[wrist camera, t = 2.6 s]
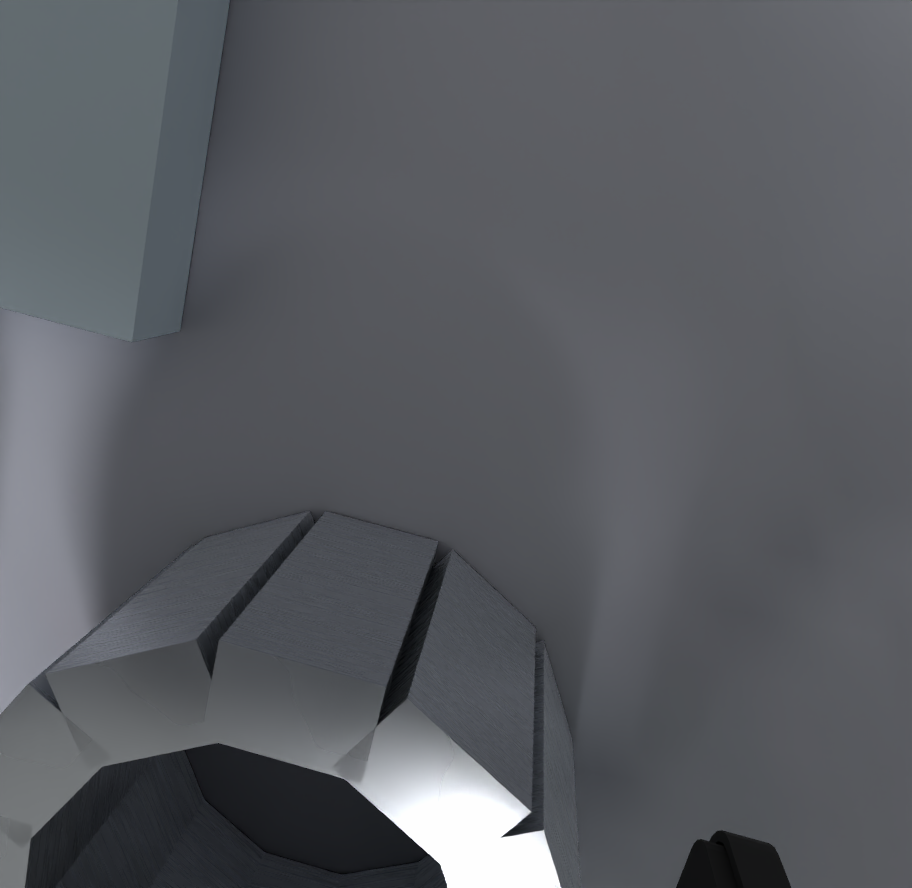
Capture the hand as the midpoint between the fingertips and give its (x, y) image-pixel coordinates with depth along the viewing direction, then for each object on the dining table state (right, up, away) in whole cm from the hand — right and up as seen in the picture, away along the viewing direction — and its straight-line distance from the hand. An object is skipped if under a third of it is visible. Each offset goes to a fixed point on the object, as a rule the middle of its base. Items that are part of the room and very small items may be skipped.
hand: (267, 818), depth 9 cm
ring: (0, 0, +2) cm, 2 cm away
